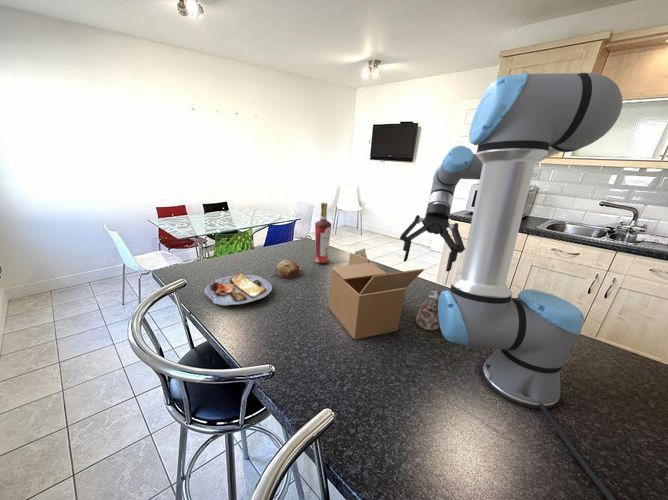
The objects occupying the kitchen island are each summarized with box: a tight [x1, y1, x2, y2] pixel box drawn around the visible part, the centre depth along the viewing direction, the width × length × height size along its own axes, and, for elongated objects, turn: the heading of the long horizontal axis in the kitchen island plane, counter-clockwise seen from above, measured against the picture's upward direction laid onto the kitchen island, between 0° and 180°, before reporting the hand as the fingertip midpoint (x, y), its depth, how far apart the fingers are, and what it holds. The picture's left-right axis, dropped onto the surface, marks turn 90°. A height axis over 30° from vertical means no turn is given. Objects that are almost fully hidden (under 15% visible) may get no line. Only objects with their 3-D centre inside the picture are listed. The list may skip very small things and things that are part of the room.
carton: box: [328, 262, 406, 340], centre depth 93 cm, size 19×15×15 cm
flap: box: [360, 268, 425, 294], centre depth 78 cm, size 9×15×1 cm
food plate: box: [203, 271, 273, 306], centre depth 110 cm, size 25×23×4 cm
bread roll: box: [275, 259, 300, 279], centre depth 126 cm, size 10×10×8 cm
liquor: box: [313, 202, 332, 265], centre depth 134 cm, size 7×7×28 cm
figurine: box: [415, 286, 441, 331], centre depth 92 cm, size 7×7×12 cm
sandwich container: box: [348, 252, 372, 265], centre depth 114 cm, size 9×15×15 cm, turn 131°
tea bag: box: [354, 248, 368, 259], centre depth 129 cm, size 4×7×10 cm, turn 135°
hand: (426, 265), depth 96 cm, fingers open, 13 cm apart
